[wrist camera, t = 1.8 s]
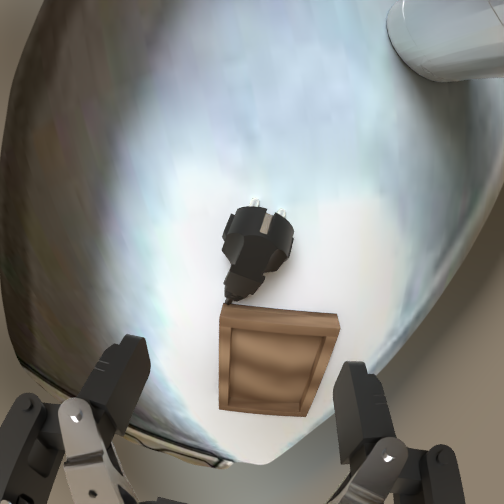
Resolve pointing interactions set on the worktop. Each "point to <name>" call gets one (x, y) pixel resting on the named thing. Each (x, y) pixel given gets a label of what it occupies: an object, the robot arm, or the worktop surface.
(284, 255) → the power plug
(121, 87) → the worktop surface
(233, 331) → the brown tray
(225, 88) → the worktop surface
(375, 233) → the worktop surface
